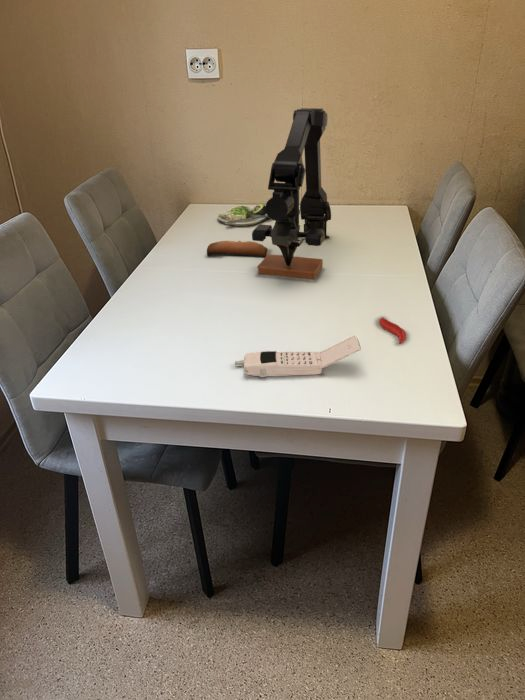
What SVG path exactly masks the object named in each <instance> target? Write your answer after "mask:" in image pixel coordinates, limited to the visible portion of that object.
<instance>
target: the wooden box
mask: <svg viewBox="0 0 525 700" xmlns="http://www.w3.org/2000/svg"><path fill="white" fill-rule="evenodd" d="M323 261H324V260H323ZM323 261H322V262H321V264H320V266H319V267H318V269H317V271H316V272H315V274H311V273H301V272H291V271H281V270H270V269H260V268H257V269H258V270H257V271H258V275H265V276H275V277H276V276H277V277H284V278H285V277H286V278H293V279H295V278H296V279H304V280H305V279H306V280H316V279H317V278H318V276H319V274H320V272H321V270H322V269H323V265H324V264H323V263H324V262H323Z"/></svg>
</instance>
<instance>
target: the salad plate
mask: <svg viewBox="0 0 525 700" xmlns="http://www.w3.org/2000/svg"><path fill="white" fill-rule="evenodd" d="M265 206H266V204H264V203H259V204H257V205H255V206H254V207H252V206H247V205H238V206H235V207H233V208H230V209H228V210H225V211H223V212H221V213H218V214H217V216H216V217H217V220H219V221H220V222H221V223H222V224H224V225H227V226H231V227H249V226H254V225H258V224H261V223H263V222H265V221H268V219H270V218H269V217H268V215H267V214H266V211H265Z"/></svg>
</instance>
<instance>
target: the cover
mask: <svg viewBox="0 0 525 700" xmlns="http://www.w3.org/2000/svg"><path fill="white" fill-rule="evenodd" d="M322 261H324V259H323V258H314V257H304V256H293V259H292V262H291V264H290V266H288V265H286V262H285V260H284V257H283V254H282V255H280V254H270V253H267V255H266V257H265V256H264V258H263V260H261V262H260V263H259V264H258V265H257V267H256V268H257V269H258V268H260V269H270V270H281V271H291V272H301V273H311V274H315V272H316V271H317V269H318V267H319V266H320V264H321V262H322Z"/></svg>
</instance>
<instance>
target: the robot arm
mask: <svg viewBox="0 0 525 700" xmlns="http://www.w3.org/2000/svg"><path fill="white" fill-rule="evenodd" d="M292 120H293V121H292V124H291V126H290V129H289V133H288V137H287V139H286V143H285V145H284V147H283V148H284V149H282V150H281V151H279V152H278V153H277V154H276V157H275V158H274V161H273V162H272V164H271V168H270V174H269V180H268V185H267V190H268V191H269V190H270V191H272V196H271V197H270V198H269V199H267V201H266V203H265V211H266V214H267V215H268V217H269V218H268V219H271V220H272V221H275V222H274V225H273V226H272V224H261V223H258V224H257V226H255V228H254V229H253V230H252V231H251V240H252V242H264V241H265V240H266V239H267V238H271V245H273V246H276V247H278V248H279V250H280V252H281V254H282V256H283V257H284V260H285V262H286V265H288V266H290V264H291V262H292V259H293V257H295V253H296V251H297V248H298V247H300V246H301V245H302V243H303V242H305V244H306V245H307V246H313V247H320V246H322V244H323V242H324V241H325V240H327V239H329V238H330V236H329V235H327V229H328V228H327V226H328V221H331V220H332V209H331V206H330V202H329V201H328V194H327V192H326V191H325V190H324V188H323V187H322V161H321V160H322V159H321V157H322V155H321V138H322V136H323V134H324V133H325V131H326V127H327V125H328V113H327V112H326V111H325V110H324V108H322V107H321V108H319V107H318V108H316V107H315V108H312V107H311V108H310V107H301V108H297V109H294V111H293V115H292ZM303 154H304V162H303ZM304 180H305V191H304V193H303V195H302V197H301V200H300V190H301V187H303V184H304ZM300 220H302V221H303V220H304V223H303V231H300V229H301V226H300Z"/></svg>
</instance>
